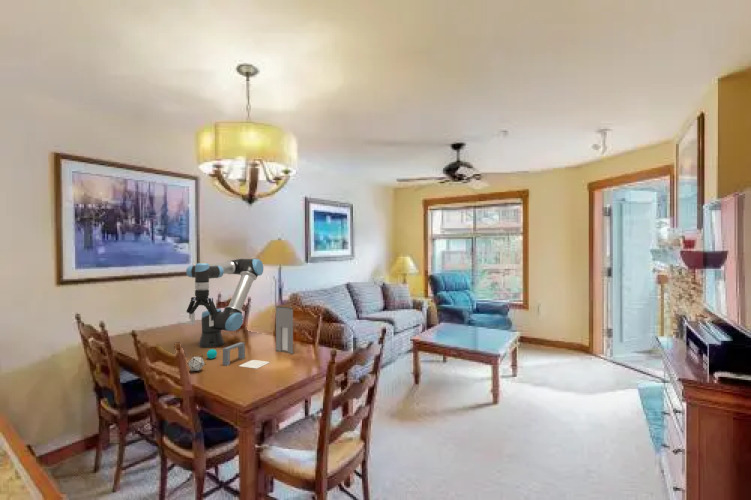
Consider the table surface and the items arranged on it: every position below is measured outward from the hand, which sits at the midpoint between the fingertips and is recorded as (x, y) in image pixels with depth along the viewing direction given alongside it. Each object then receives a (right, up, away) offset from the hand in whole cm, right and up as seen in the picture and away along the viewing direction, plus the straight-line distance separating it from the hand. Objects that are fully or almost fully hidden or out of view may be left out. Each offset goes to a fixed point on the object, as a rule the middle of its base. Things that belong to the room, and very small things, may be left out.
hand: (201, 325), depth 227 cm
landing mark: (+36, -19, -14) cm, 43 cm away
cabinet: (+45, -19, +15) cm, 51 cm away
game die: (+9, -19, -25) cm, 33 cm away
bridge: (+22, -19, -9) cm, 31 cm away
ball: (+7, -16, -3) cm, 18 cm away
